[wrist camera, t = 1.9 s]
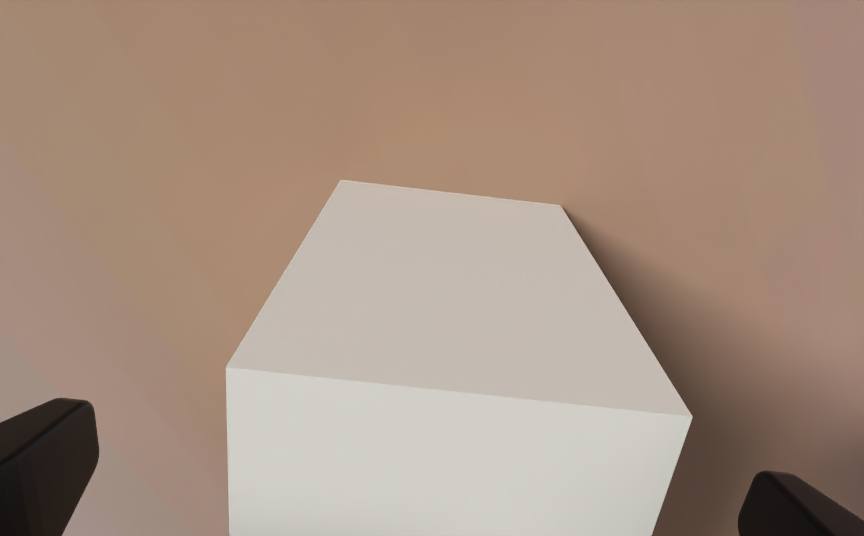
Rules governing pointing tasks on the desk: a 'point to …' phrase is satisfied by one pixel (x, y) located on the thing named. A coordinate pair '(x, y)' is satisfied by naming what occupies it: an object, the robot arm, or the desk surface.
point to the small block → (446, 380)
